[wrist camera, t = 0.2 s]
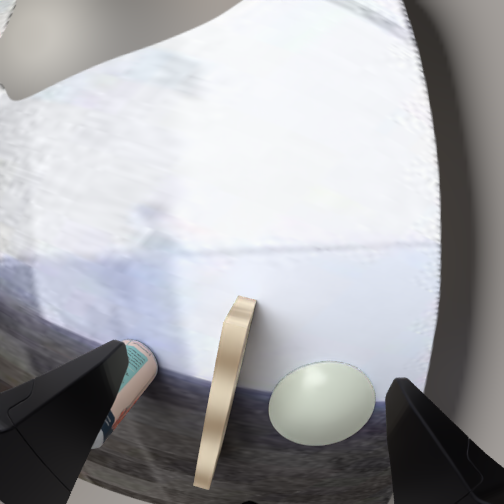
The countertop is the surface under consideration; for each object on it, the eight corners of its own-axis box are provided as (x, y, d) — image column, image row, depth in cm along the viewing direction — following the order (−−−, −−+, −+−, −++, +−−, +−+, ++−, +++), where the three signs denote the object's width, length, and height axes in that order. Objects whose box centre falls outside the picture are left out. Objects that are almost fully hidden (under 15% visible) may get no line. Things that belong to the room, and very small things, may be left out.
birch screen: (220, 450, 27) (208, 489, 21) (207, 447, 27) (193, 485, 21) (256, 300, 24) (246, 328, 18) (238, 295, 24) (223, 322, 19)
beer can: (120, 375, 27) (54, 442, 15) (113, 334, 26) (34, 393, 15) (162, 383, 27) (104, 464, 15) (157, 340, 26) (85, 414, 14)
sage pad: (313, 454, 26) (314, 458, 25) (246, 403, 26) (246, 407, 25) (392, 401, 24) (394, 405, 24) (330, 339, 24) (331, 342, 23)
